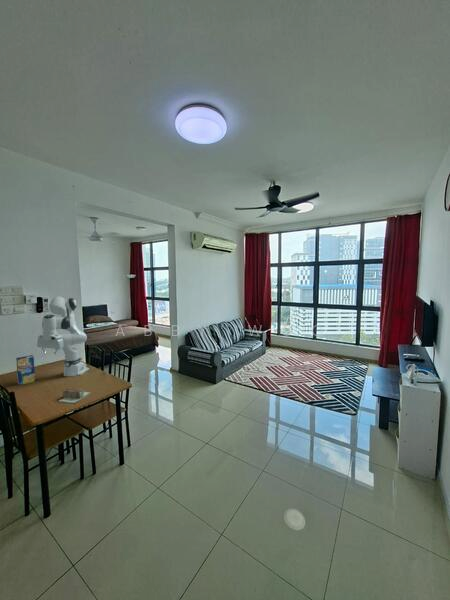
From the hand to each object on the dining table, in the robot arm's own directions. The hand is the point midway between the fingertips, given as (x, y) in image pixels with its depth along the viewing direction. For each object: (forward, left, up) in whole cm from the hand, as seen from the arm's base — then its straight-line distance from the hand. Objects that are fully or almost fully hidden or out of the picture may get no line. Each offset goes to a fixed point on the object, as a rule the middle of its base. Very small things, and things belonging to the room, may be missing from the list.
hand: (50, 353), depth 187 cm
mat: (+3, +23, -32) cm, 39 cm away
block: (+3, +15, -29) cm, 32 cm away
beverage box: (-13, -39, -32) cm, 52 cm away
